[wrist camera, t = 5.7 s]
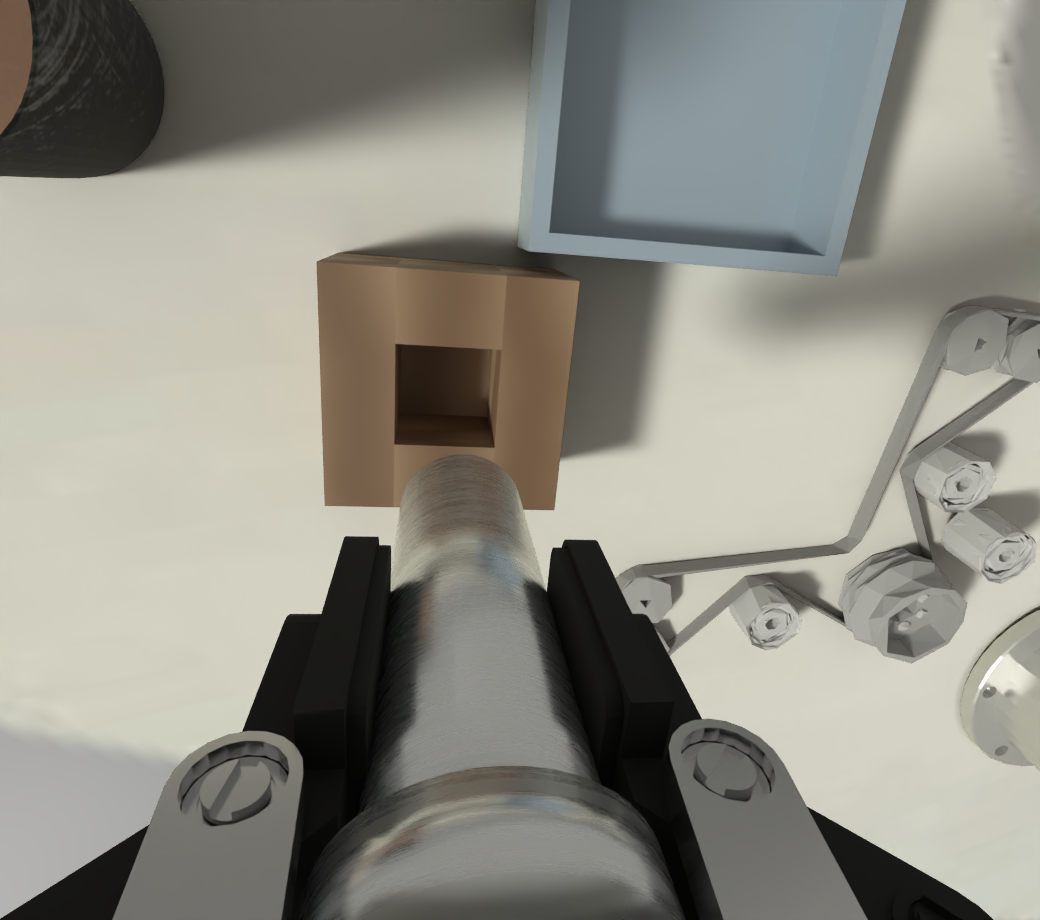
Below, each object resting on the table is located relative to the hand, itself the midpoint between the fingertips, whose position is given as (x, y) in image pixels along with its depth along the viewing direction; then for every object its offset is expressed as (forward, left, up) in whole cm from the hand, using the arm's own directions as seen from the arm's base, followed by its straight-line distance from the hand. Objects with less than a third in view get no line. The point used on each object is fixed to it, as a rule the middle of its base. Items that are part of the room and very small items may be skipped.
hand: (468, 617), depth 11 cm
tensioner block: (0, 0, -18) cm, 18 cm away
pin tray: (-9, -12, -18) cm, 23 cm away
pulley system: (-22, +8, -19) cm, 30 cm away
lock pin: (0, 0, -4) cm, 4 cm away
